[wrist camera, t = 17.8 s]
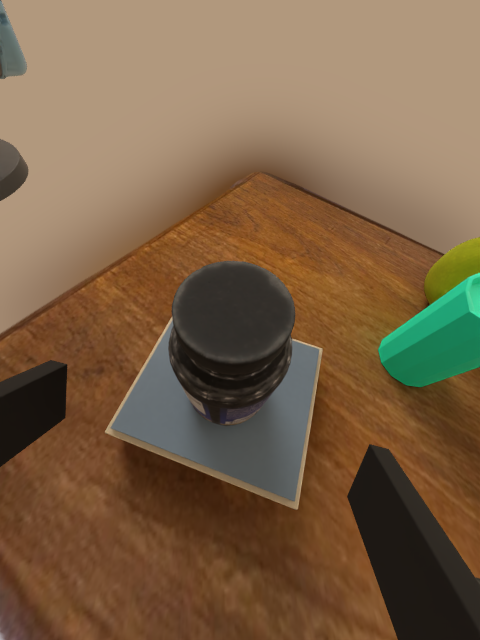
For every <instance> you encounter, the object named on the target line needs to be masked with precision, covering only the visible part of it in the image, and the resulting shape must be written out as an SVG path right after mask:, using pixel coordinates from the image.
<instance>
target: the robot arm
mask: <svg viewBox="0 0 480 640" xmlns="http://www.w3.org/2000/svg"><path fill="white" fill-rule="evenodd" d="M26 69H27V65H26V61H25V58H24V56H23V53H22V50H21V48H20V46H19V43H18V41H17V38H16V36H15V33H14V31H13V28H12V26H11V24H10V21H9V18H8V16H7V14H6V11H5V9H4V6H3V4H2V1H1V0H0V79H5V78H6V77H8V76H18V75H23V74H24V73H25V72H26ZM66 384H67V364H64V363H60V362H56V361H52V360H50V361H48V362H45V363H43V364H41V365H39V366H36V367H34V368H32V369H29V370H27V371H25V372H22V373H20V374H18V375H16V376H13V377H11V378H9V379H6V380H4V381H2V382H0V467H1V466H2V465H3V464H5V463H6V462H7V461H9V460H10V459H11V458H13V457H14V456H15V455H17V454H18V453H19V452H21V451H22V450H23V449H25V448H26V447H27V446H29V445H30V444H31V443H33V442H34V441H35V440H37V439H38V438H39V437H41V436H42V435H43V434H45V433H46V432H47V431H49V430H50V429H51V428H53V427H54V426H55V425H57V424H58V423H59V422H61V421H62V420H63V419H64V418H65V411H66ZM347 497H348V500H349V503H350V505H351V508H352V511H353V514H354V517H355V520H356V522H357V525H358V528H359V531H360V534H361V537H362V539H363V542H364V545H365V548H366V551H367V553H368V556H369V559H370V562H371V565H372V568H373V570H374V573H375V576H376V579H377V582H378V584H379V587H380V590H381V593H382V596H383V599H384V601H385V604H386V607H387V610H388V613H389V615H390V618H391V621H392V624H393V627H394V630H395V632H396V635H397V638H398V640H480V579H479V578H475V577H474V575H473V574H472V572H471V571H470V569H469V568H468V566H467V565H466V563H465V562H464V560H463V559H462V557H461V556H460V554H459V553H458V551H457V550H456V548H455V547H454V546H453V544H452V543H451V541H450V540H449V538H448V537H447V535H446V534H445V532H444V531H443V529H442V528H441V526H440V525H439V523H438V522H437V520H436V519H435V517H434V516H433V514H432V513H431V511H430V510H429V508H428V507H427V505H426V504H425V502H424V501H423V499H422V498H421V496H420V495H419V494H418V492H417V491H416V489H415V488H414V486H413V485H412V483H411V482H410V480H409V479H408V477H407V476H406V474H405V473H404V471H403V470H402V468H401V467H400V465H399V464H398V462H397V461H396V459H395V458H394V456H393V455H392V453H391V452H390V450H389V449H386V448H382V447H378V446H374V445H369V447H368V449H367V452H366V454H365V456H364V459H363V461H362V463H361V466H360V468H359V470H358V472H357V475H356V477H355V479H354V482H353V484H352V486H351V489H350V491H349V493H348V496H347Z"/></svg>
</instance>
